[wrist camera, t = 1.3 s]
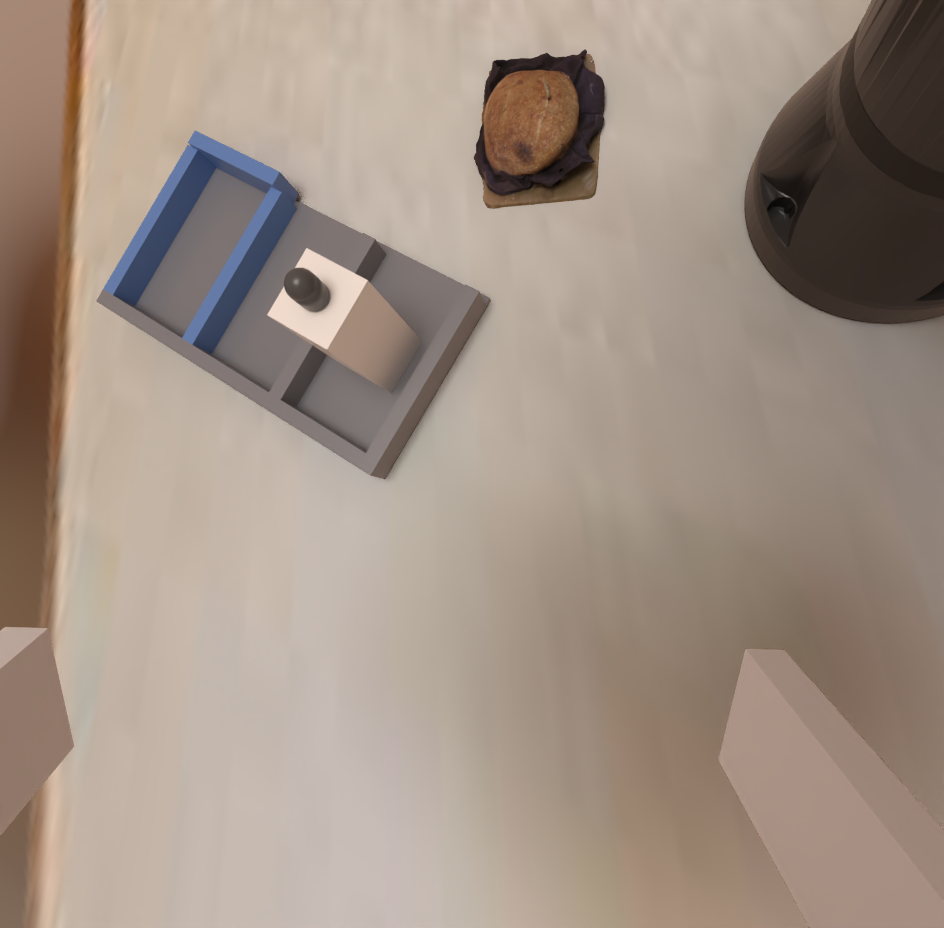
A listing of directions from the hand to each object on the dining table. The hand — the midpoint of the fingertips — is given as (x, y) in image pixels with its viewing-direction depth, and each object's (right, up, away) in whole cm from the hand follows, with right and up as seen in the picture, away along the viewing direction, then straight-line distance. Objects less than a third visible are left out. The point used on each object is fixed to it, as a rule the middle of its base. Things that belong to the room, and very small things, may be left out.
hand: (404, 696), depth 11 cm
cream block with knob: (-5, +12, +26) cm, 29 cm away
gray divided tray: (-11, +16, +28) cm, 34 cm away
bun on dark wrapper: (+6, +27, +27) cm, 38 cm away
